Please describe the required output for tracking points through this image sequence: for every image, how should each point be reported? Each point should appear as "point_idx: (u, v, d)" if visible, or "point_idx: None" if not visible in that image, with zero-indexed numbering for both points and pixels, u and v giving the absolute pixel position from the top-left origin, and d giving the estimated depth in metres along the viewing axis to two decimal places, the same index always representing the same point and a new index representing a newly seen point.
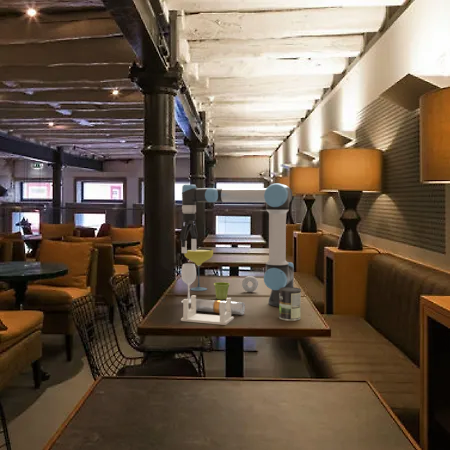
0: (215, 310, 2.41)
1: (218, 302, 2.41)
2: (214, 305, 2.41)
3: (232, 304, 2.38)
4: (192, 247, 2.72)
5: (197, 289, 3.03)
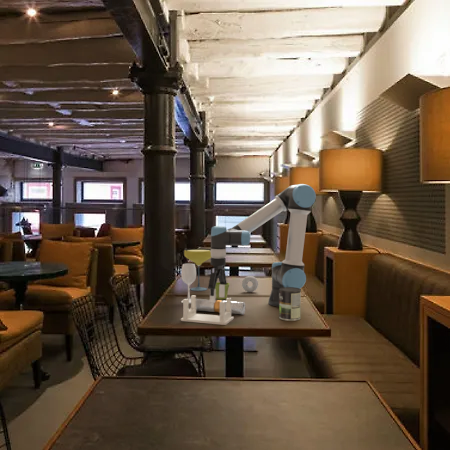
0: (215, 308, 2.41)
1: (219, 301, 2.43)
2: (215, 303, 2.42)
3: (233, 302, 2.40)
4: (220, 293, 2.49)
5: (197, 289, 3.03)
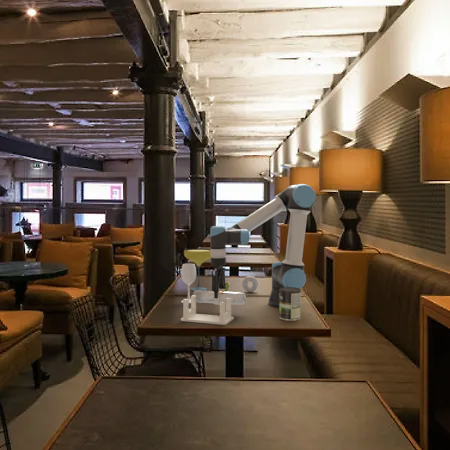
0: None
1: (219, 292, 2.41)
2: None
3: (233, 294, 2.38)
4: None
5: (197, 289, 3.03)
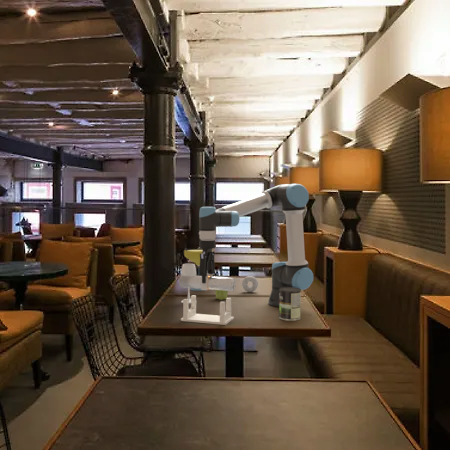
0: None
1: None
2: None
3: (222, 279, 2.24)
4: None
5: (197, 289, 3.03)
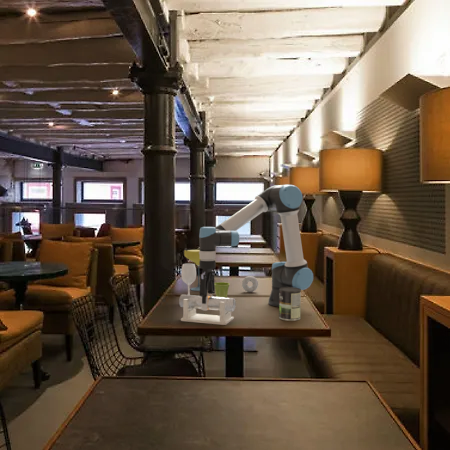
0: None
1: None
2: None
3: (222, 299, 2.24)
4: None
5: (197, 289, 3.03)
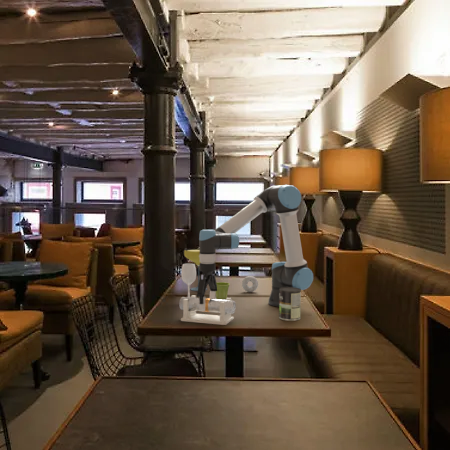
0: None
1: (207, 300, 2.27)
2: None
3: None
4: None
5: (197, 289, 3.03)
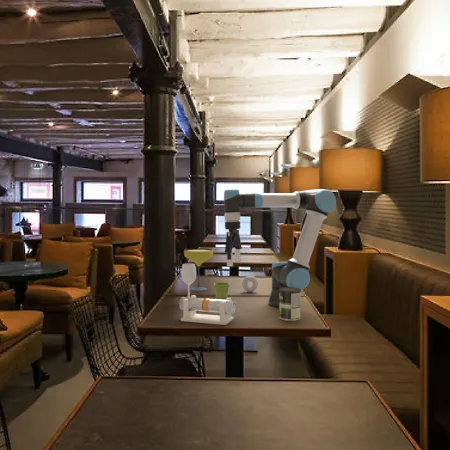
0: (204, 308, 2.26)
1: (207, 300, 2.27)
2: (203, 303, 2.26)
3: None
4: (236, 258, 2.46)
5: (197, 289, 3.03)
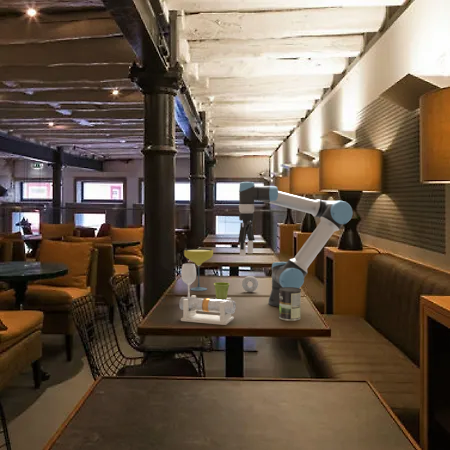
0: (204, 308, 2.26)
1: (207, 300, 2.27)
2: (203, 303, 2.26)
3: None
4: (248, 249, 2.53)
5: (197, 289, 3.03)
